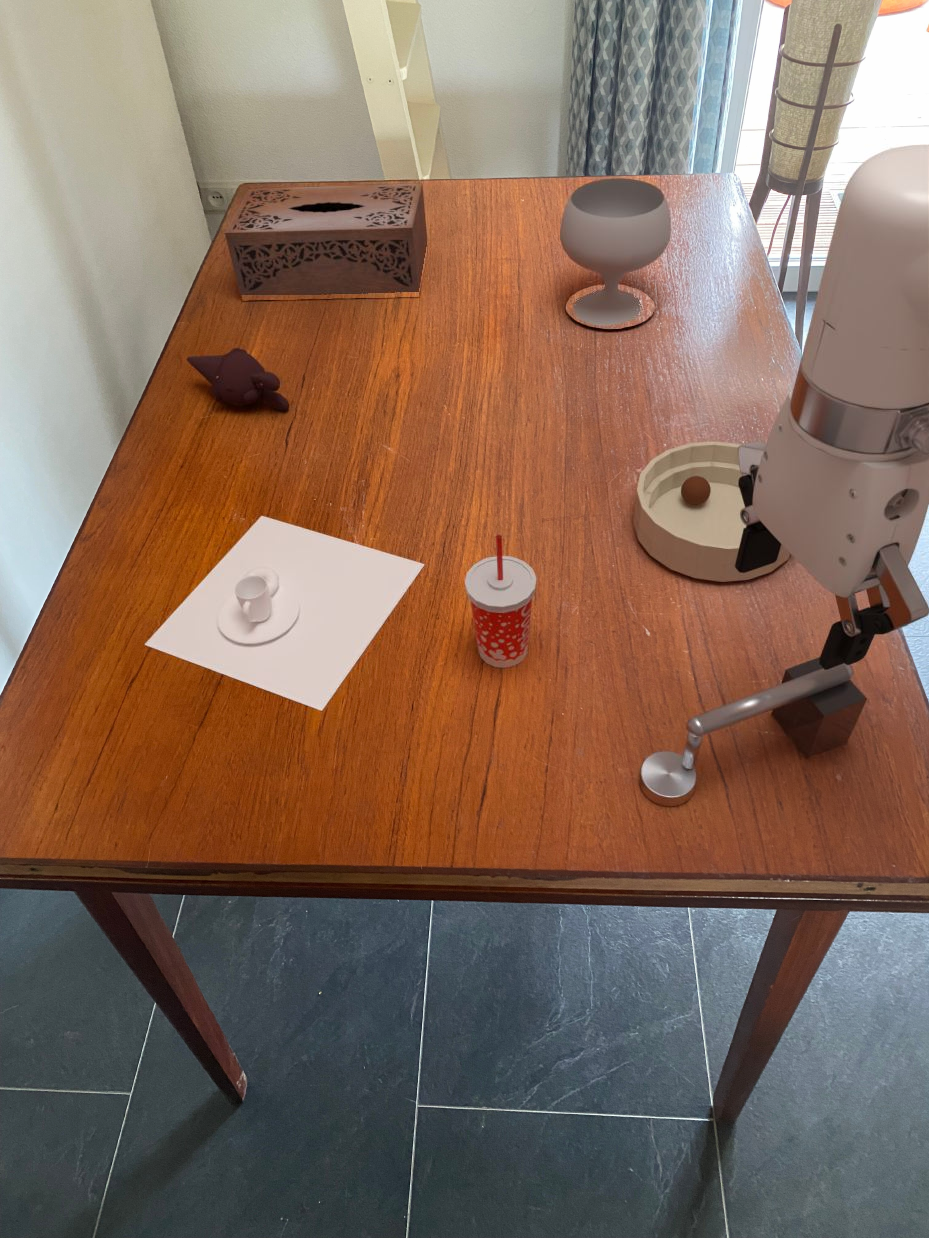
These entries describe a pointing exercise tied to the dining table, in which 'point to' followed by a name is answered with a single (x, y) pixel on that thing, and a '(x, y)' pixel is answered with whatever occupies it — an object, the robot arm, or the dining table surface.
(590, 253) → the chalice
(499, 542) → the beverage cup
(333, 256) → the tissue box cover
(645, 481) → the bowl
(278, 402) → the dark brown figurine
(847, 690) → the dark brown cube
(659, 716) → the dining table surface
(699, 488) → the meatball
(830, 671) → the bent silver rod
